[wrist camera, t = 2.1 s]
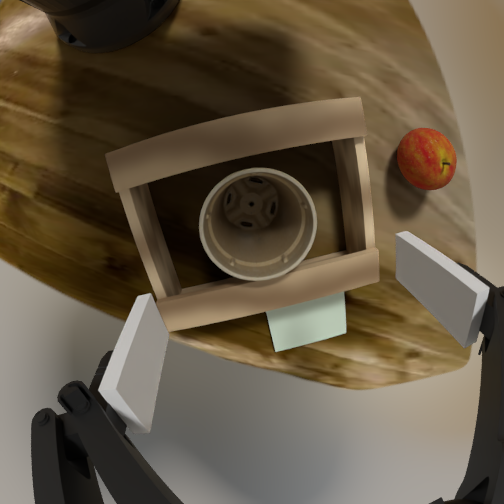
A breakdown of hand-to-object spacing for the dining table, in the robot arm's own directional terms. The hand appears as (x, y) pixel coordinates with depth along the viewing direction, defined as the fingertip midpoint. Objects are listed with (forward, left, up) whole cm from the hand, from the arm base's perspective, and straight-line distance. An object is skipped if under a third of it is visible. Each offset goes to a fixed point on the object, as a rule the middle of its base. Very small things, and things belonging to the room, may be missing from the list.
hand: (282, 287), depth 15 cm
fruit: (-2, +20, -18) cm, 27 cm away
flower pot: (0, 0, -18) cm, 18 cm away
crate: (0, 0, -18) cm, 18 cm away
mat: (+15, +4, -18) cm, 24 cm away
